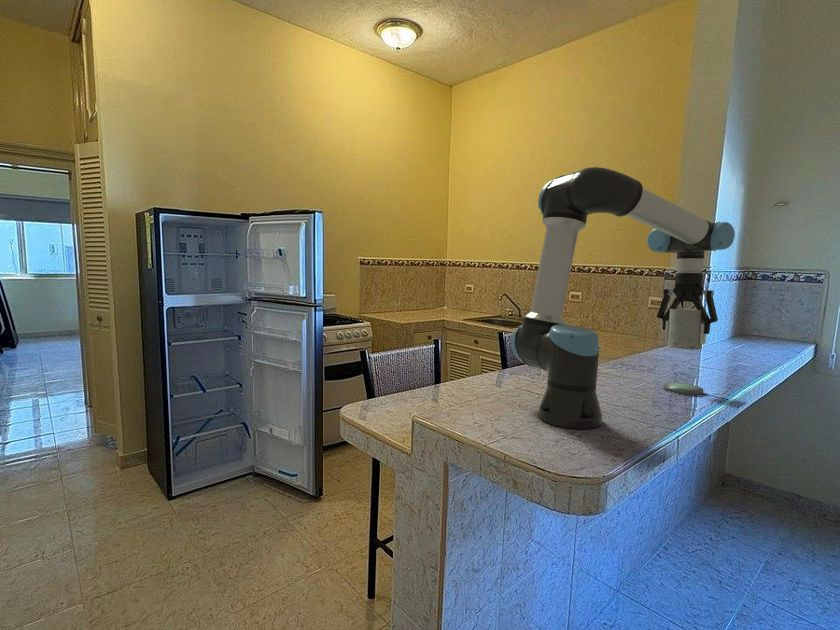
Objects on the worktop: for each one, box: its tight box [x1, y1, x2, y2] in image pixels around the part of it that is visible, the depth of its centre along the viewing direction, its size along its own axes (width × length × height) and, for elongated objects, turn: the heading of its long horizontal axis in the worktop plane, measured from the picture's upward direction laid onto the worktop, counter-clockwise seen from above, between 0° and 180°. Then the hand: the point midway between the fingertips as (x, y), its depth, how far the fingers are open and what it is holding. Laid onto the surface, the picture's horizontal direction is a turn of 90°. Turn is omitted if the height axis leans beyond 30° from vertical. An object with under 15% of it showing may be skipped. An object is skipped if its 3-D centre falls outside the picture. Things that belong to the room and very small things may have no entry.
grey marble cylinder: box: [667, 307, 704, 350], centre depth 140 cm, size 10×10×12 cm
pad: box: [663, 382, 704, 396], centre depth 142 cm, size 11×11×2 cm
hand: (684, 342), depth 141 cm, fingers closed on grey marble cylinder, 9 cm apart
